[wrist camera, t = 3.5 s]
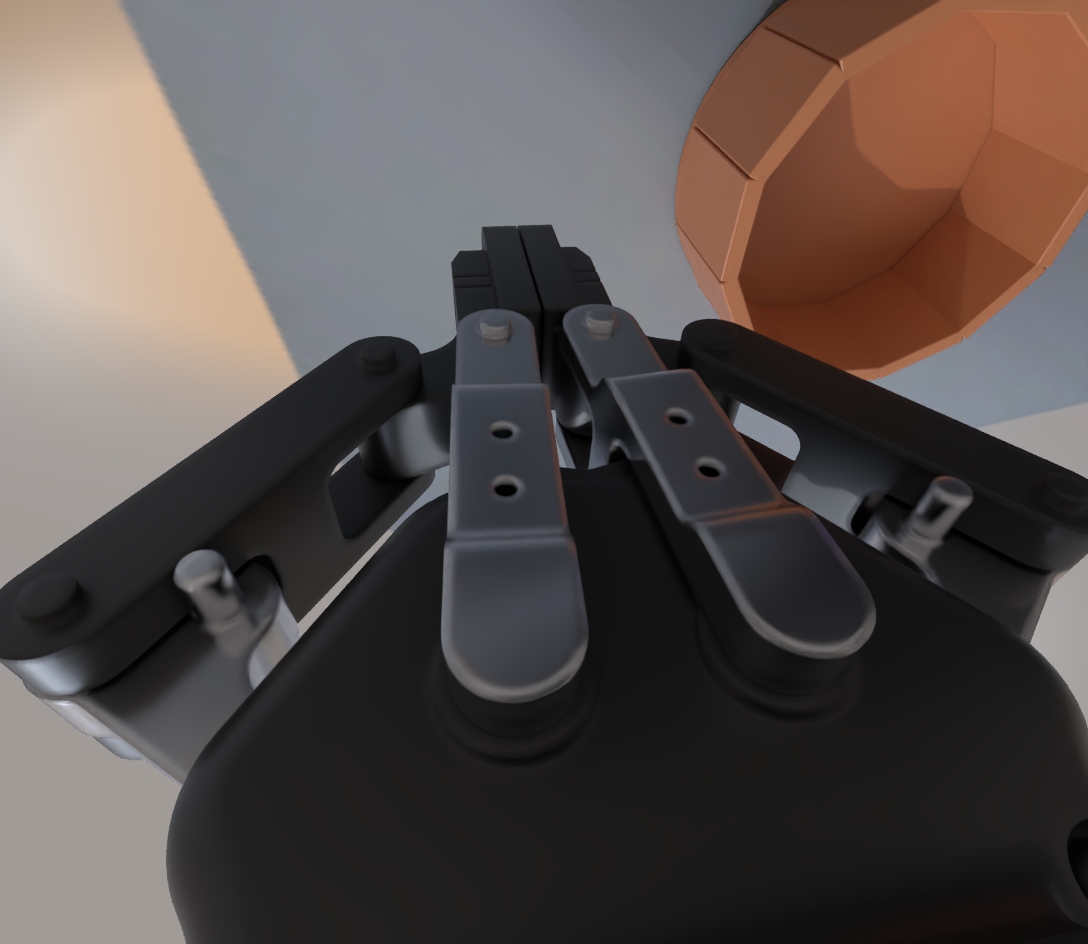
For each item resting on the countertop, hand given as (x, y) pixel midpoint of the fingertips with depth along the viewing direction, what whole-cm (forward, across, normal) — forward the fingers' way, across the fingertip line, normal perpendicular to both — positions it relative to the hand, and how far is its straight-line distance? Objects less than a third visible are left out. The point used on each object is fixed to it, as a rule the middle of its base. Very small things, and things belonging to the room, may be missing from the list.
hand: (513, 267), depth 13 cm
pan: (+6, -11, -3) cm, 13 cm away
